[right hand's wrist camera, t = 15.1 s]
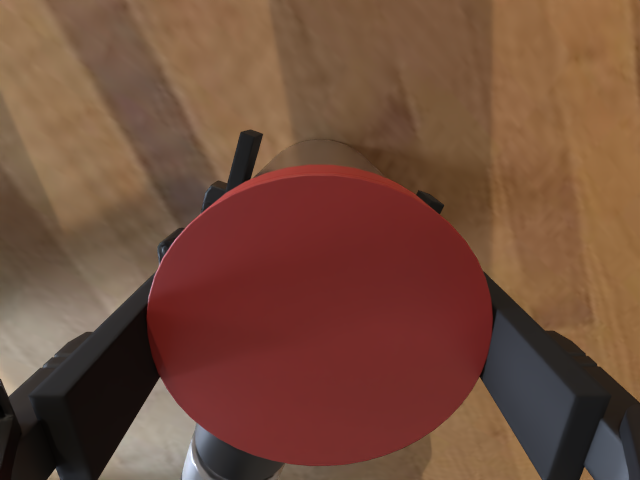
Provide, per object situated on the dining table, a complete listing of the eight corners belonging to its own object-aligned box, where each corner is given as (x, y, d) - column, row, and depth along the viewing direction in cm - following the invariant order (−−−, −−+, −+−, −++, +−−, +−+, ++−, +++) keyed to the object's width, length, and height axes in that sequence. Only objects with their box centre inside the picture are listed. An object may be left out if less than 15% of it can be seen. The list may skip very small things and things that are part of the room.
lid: (138, 174, 11) (102, 186, 9) (484, 153, 10) (516, 161, 9) (201, 428, 14) (184, 472, 13) (456, 417, 14) (475, 460, 12)
